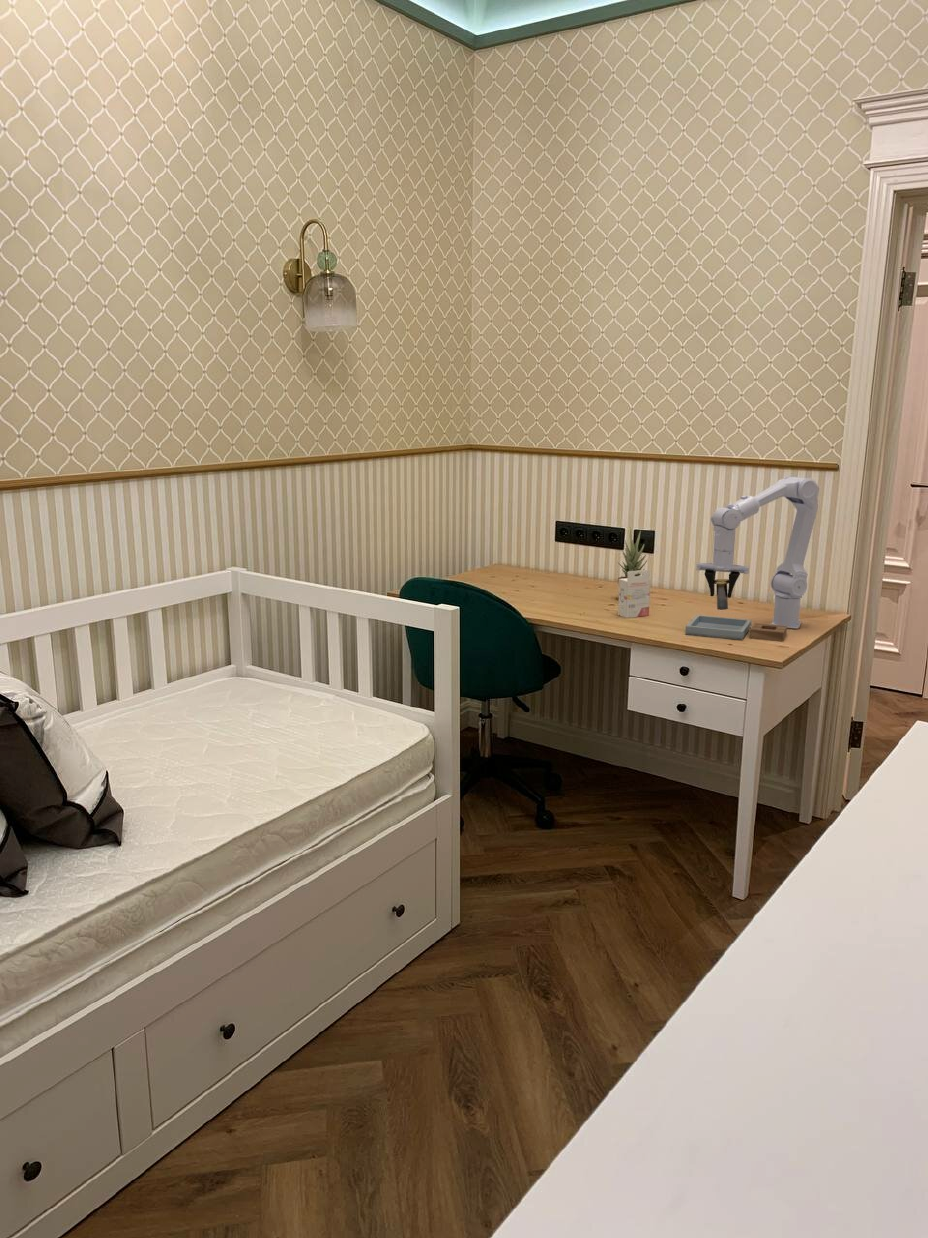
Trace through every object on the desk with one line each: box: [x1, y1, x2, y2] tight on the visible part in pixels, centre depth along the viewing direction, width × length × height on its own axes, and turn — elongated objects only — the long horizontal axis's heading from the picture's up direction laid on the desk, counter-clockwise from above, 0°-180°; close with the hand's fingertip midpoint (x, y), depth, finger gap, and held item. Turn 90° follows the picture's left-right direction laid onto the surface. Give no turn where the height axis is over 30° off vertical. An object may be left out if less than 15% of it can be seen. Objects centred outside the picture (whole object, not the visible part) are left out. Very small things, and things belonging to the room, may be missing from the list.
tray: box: [685, 614, 752, 641], centre depth 283 cm, size 16×16×2 cm
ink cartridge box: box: [617, 569, 651, 619], centre depth 302 cm, size 9×5×15 cm, turn 114°
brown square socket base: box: [749, 622, 788, 642], centre depth 277 cm, size 9×9×2 cm
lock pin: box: [714, 578, 729, 611], centre depth 281 cm, size 4×4×8 cm
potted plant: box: [616, 528, 648, 585], centre depth 324 cm, size 10×10×25 cm
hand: (720, 596), depth 281 cm, fingers closed on lock pin, 4 cm apart
